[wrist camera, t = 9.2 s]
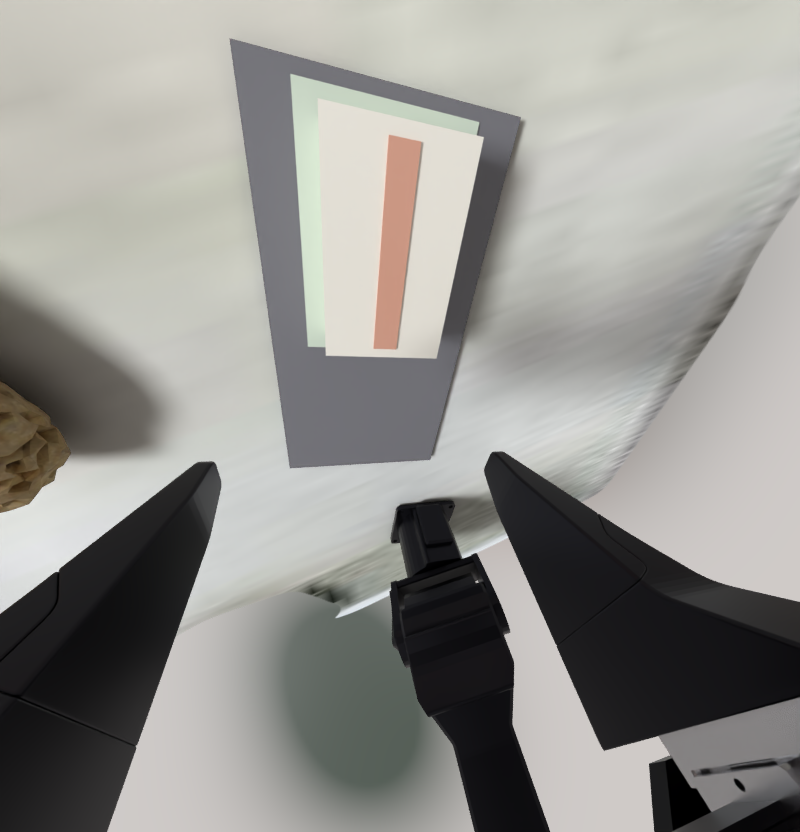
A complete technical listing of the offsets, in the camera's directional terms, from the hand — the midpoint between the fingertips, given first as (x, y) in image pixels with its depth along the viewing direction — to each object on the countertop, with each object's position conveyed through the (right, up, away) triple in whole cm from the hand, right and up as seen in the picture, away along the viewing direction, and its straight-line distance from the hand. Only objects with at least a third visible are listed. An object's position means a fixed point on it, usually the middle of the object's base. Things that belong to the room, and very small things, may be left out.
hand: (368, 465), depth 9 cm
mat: (-1, +7, +9) cm, 11 cm away
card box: (0, +10, +6) cm, 12 cm away
